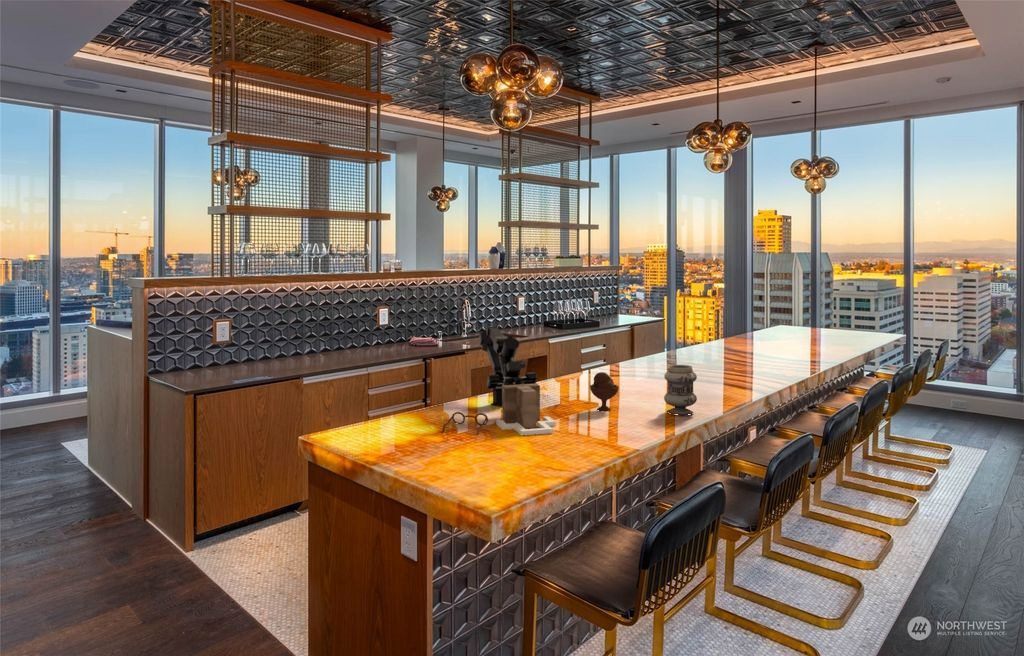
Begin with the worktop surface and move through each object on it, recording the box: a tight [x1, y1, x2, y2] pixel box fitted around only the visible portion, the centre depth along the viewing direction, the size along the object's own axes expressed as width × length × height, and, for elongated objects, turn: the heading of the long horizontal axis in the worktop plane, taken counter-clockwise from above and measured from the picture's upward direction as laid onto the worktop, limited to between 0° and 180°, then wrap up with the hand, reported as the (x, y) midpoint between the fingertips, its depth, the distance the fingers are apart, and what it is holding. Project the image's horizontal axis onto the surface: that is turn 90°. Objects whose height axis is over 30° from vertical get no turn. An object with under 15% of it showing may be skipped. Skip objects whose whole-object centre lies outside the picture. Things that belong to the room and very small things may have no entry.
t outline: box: [495, 415, 557, 437], centre depth 226 cm, size 17×19×2 cm
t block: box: [501, 383, 541, 429], centre depth 231 cm, size 13×13×13 cm
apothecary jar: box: [663, 364, 698, 415], centre depth 245 cm, size 12×12×18 cm
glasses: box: [441, 411, 489, 436], centre depth 225 cm, size 13×13×5 cm
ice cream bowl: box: [589, 371, 620, 412], centre depth 251 cm, size 11×11×15 cm
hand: (516, 399), depth 241 cm, fingers closed
